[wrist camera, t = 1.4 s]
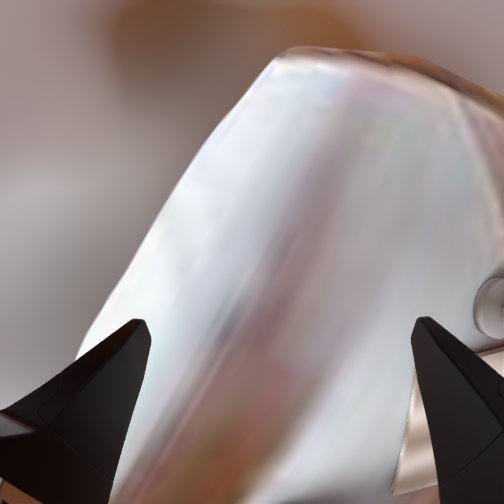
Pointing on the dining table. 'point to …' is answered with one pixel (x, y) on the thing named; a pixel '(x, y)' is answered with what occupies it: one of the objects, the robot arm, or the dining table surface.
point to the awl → (490, 308)
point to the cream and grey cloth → (426, 438)
